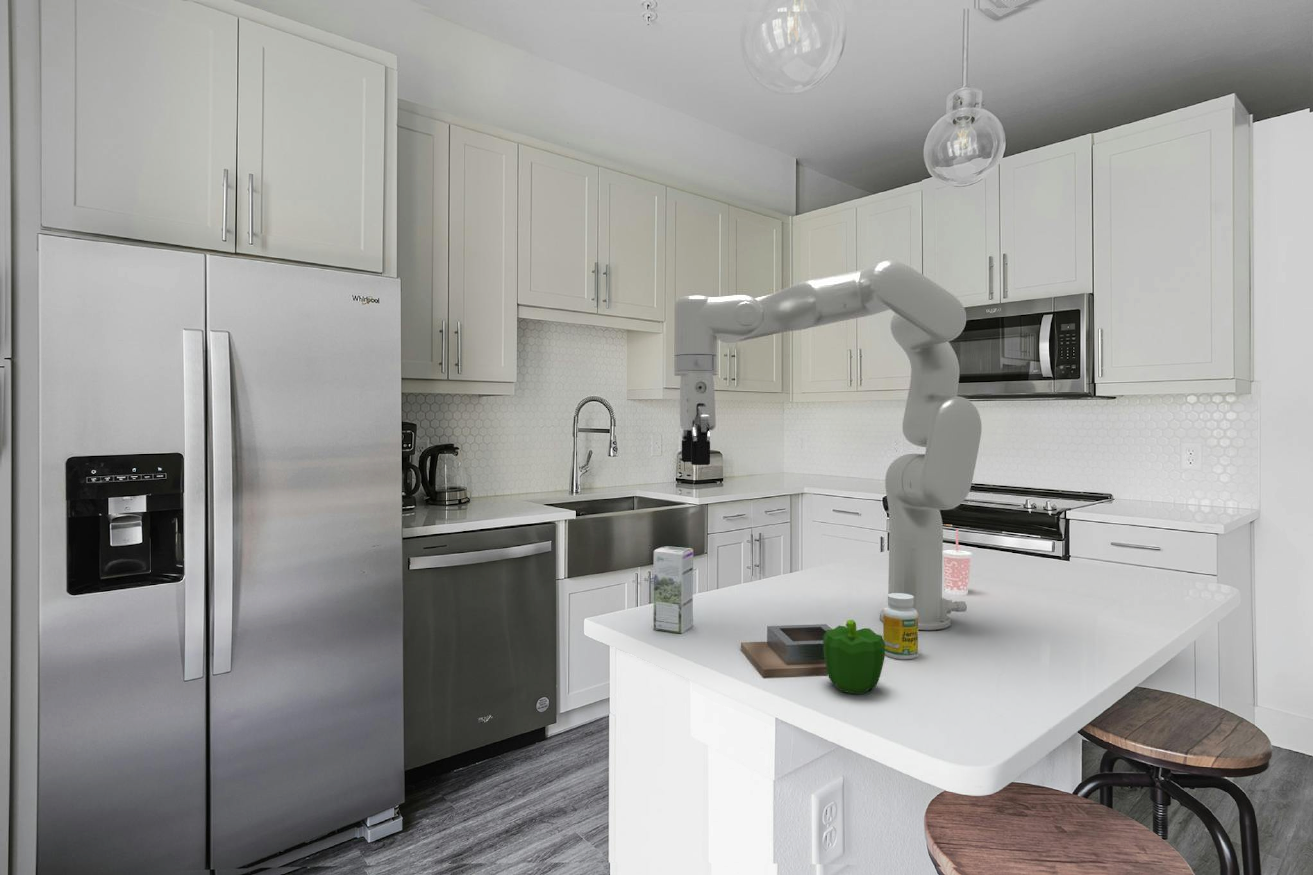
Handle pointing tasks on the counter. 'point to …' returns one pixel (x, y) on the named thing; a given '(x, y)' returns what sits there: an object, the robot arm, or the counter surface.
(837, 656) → the bell pepper
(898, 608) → the supplement bottle
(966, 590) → the beverage cup
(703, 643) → the counter surface
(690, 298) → the robot arm
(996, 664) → the counter surface
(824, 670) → the docking plate
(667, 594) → the syrup box
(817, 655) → the socket collar
